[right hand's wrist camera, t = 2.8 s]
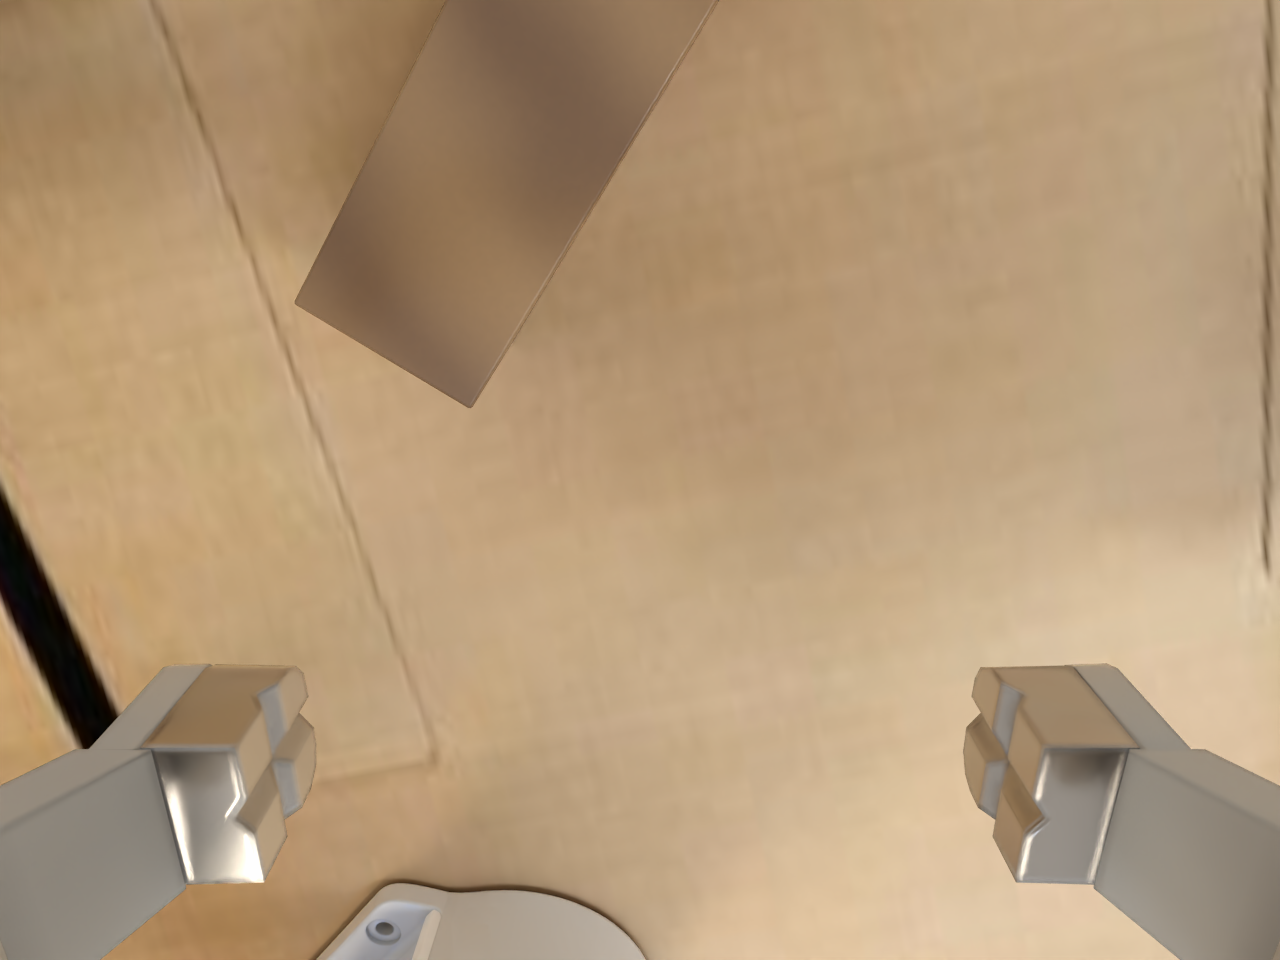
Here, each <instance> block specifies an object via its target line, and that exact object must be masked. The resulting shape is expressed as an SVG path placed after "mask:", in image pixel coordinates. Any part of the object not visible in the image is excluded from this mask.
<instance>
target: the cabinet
mask: <svg viewBox="0 0 1280 960" xmlns="http://www.w3.org/2000/svg"><path fill="white" fill-rule="evenodd" d="M718 1H719V0H446V1H445V3H444V5H443V7H442V9H441V11H440V13H439V15H438V17H437V19H436V21H435V23H434V25H433V27H432V29H431V31H430V33H429V35H428V37H427V39H426V41H425V43H424V45H423V47H422V49H421V51H420V53H419V55H418V57H417V59H416V61H415V63H414V65H413V67H412V69H411V71H410V73H409V75H408V77H407V79H406V81H405V83H404V85H403V87H402V89H401V91H400V93H399V95H398V97H397V99H396V101H395V103H394V105H393V107H392V109H391V111H390V113H389V115H388V117H387V119H386V121H385V123H384V125H383V127H382V129H381V131H380V133H379V135H378V137H377V139H376V141H375V143H374V145H373V147H372V149H371V151H370V153H369V155H368V157H367V159H366V160H365V162H364V164H363V166H362V168H361V170H360V172H359V174H358V176H357V178H356V180H355V182H354V184H353V186H352V188H351V190H350V192H349V194H348V196H347V198H346V200H345V202H344V204H343V206H342V208H341V210H340V212H339V214H338V216H337V218H336V220H335V222H334V224H333V226H332V228H331V230H330V232H329V234H328V236H327V238H326V240H325V242H324V244H323V246H322V248H321V250H320V252H319V254H318V256H317V258H316V260H315V262H314V264H313V266H312V268H311V270H310V272H309V274H308V276H307V278H306V280H305V282H304V284H303V286H302V288H301V290H300V292H299V294H298V296H297V298H296V300H295V304H296V305H297V306H299V307H300V308H302V309H304V310H305V311H307V312H309V313H310V314H312V315H314V316H316V317H317V318H319V319H321V320H322V321H324V322H326V323H327V324H329V325H331V326H332V327H334V328H336V329H337V330H339V331H341V332H342V333H344V334H346V335H347V336H349V337H351V338H352V339H354V340H356V341H357V342H359V343H361V344H362V345H364V346H366V347H367V348H369V349H371V350H372V351H374V352H376V353H377V354H379V355H381V356H382V357H384V358H386V359H388V360H389V361H391V362H393V363H394V364H396V365H398V366H399V367H401V368H403V369H404V370H406V371H408V372H409V373H411V374H413V375H414V376H416V377H418V378H419V379H421V380H423V381H424V382H426V383H428V384H429V385H431V386H433V387H434V388H436V389H438V390H439V391H441V392H443V393H444V394H446V395H448V396H449V397H451V398H453V399H454V400H456V401H458V402H460V403H461V404H463V405H465V406H466V407H468V408H471V407H473V405H474V404H475V402H476V400H477V399H478V397H479V395H480V394H481V392H482V391H483V389H484V387H485V386H486V384H487V383H488V381H489V379H490V378H491V376H492V374H493V373H494V371H495V370H496V368H497V366H498V365H499V363H500V362H501V360H502V358H503V357H504V355H505V353H506V352H507V350H508V349H509V347H510V345H511V344H512V342H513V340H514V339H515V337H516V335H517V334H518V332H519V331H520V329H521V327H522V326H523V324H524V322H525V321H526V319H527V317H528V316H529V314H530V312H531V311H532V309H533V307H534V306H535V304H536V302H537V301H538V299H539V297H540V296H541V294H542V292H543V291H544V289H545V288H546V286H547V284H548V283H549V281H550V279H551V278H552V276H553V274H554V273H555V271H556V269H557V268H558V266H559V264H560V263H561V261H562V259H563V258H564V256H565V254H566V253H567V251H568V249H569V248H570V246H571V245H572V243H573V241H574V240H575V238H576V236H577V235H578V233H579V231H580V230H581V228H582V226H583V225H584V223H585V221H586V220H587V218H588V216H589V215H590V213H591V211H592V210H593V208H594V206H595V205H596V203H597V202H598V200H599V198H600V197H601V195H602V193H603V192H604V190H605V188H606V187H607V185H608V183H609V182H610V180H611V178H612V177H613V175H614V173H615V172H616V170H617V168H618V167H619V165H620V163H621V162H622V160H623V159H624V157H625V155H626V154H627V152H628V150H629V149H630V147H631V145H632V144H633V142H634V140H635V139H636V137H637V135H638V134H639V132H640V130H641V129H642V127H643V125H644V124H645V122H646V120H647V119H648V117H649V116H650V114H651V112H652V111H653V109H654V107H655V106H656V104H657V102H658V101H659V99H660V97H661V96H662V94H663V92H664V91H665V89H666V87H667V86H668V84H669V82H670V81H671V79H672V77H673V76H674V74H675V72H676V71H677V69H678V68H679V66H680V64H681V63H682V61H683V59H684V58H685V56H686V54H687V53H688V51H689V49H690V48H691V46H692V44H693V43H694V41H695V39H696V38H697V36H698V34H699V33H700V31H701V29H702V28H703V26H704V25H705V23H706V21H707V20H708V18H709V16H710V15H711V13H712V11H713V10H714V8H715V6H716V5H717V3H718Z"/></svg>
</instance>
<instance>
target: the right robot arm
mask: <svg viewBox="0 0 1280 960" xmlns="http://www.w3.org/2000/svg"><path fill="white" fill-rule="evenodd" d="M307 698H308V692H307V688H306V683H305V678H304V673H303V672H302V671H301V670H300V669H299V668H298V667H297V666H272V665H224V664H216V665H211V664H174V665H170V666H167V667H163V668H162V669H161V671H160V672H159V673H158V674H157V675H156V676H155V677H154V678H153V679H152V680H151V681H150V683H149V684H148V685H147V686H146V687H145V688H144V689H143V690H142V691H141V692H140V694H139V695H138V696H137V697H136V698H135V699H134V700H133V701H132V702H131V703H130V705H129V706H128V707H127V708H126V709H125V710H124V711H123V712H122V713H121V714H120V716H119V717H118V718H117V719H116V720H115V721H114V722H113V723H112V724H111V725H110V727H109V728H108V729H107V730H106V731H105V732H104V733H103V734H102V735H101V736H100V738H99V739H98V740H97V741H96V742H95V743H94V744H93V745H92V746H91V747H90V749H75V750H73V751H71V752H69V753H67V754H65V755H62V756H60V757H58V758H56V759H54V760H52V761H50V762H48V763H46V764H44V765H42V766H40V767H38V768H36V769H34V770H32V771H30V772H28V773H26V774H24V775H21V776H19V777H17V778H15V779H13V780H11V781H9V782H7V783H5V784H3V785H1V786H0V960H100V959H102V958H103V957H104V956H105V955H107V954H108V953H109V952H110V951H111V950H113V949H114V948H115V947H116V946H117V945H119V944H120V943H121V942H122V941H123V940H125V939H126V938H127V937H128V936H129V935H131V934H132V933H133V932H134V931H136V930H137V929H138V928H139V927H140V926H142V925H143V924H144V923H145V922H146V921H148V920H149V919H150V918H151V917H152V916H154V915H155V914H156V913H157V912H159V911H160V910H161V909H162V908H163V907H165V906H166V905H167V904H168V903H169V902H171V901H172V900H173V899H174V898H175V897H177V896H178V895H179V894H180V893H182V892H183V891H184V890H185V889H186V884H221V883H255V882H264V881H265V879H266V877H267V875H268V873H269V871H270V869H271V867H272V866H273V864H274V862H275V860H276V858H277V856H278V854H279V852H280V850H281V848H282V846H283V844H284V842H285V840H286V838H287V832H286V826H285V821H284V820H285V819H286V818H288V817H289V816H290V815H292V814H293V813H295V812H296V811H298V810H299V809H300V808H302V806H303V804H304V802H305V800H306V798H307V796H308V794H309V792H310V790H311V786H312V781H313V777H314V772H315V768H316V739H315V733H314V727H313V726H312V725H311V724H310V723H309V722H308V721H307V720H306V719H305V718H304V717H303V716H302V715H301V714H300V713H299V712H300V710H301V708H302V707H303V705H304V703H305V701H306V700H307ZM972 698H973V700H974V701H975V703H976V705H977V707H978V708H979V710H980V712H981V713H980V714H979V715H978V716H977V717H976V718H975V719H974V720H973V721H972V722H971V723H970V724H969V725H968V726H967V727H966V734H965V742H964V749H963V754H964V765H965V775H966V778H967V782H968V785H969V789H970V792H971V794H972V796H973V798H974V800H975V802H976V804H977V806H978V808H980V809H981V810H982V811H984V812H985V813H987V814H988V815H990V816H991V817H992V818H994V819H995V820H996V821H995V826H994V832H993V838H994V840H995V842H996V844H997V846H998V848H999V850H1000V852H1001V854H1002V856H1003V858H1004V860H1005V862H1006V863H1007V865H1008V867H1009V869H1010V871H1011V873H1012V875H1013V877H1014V879H1015V881H1016V882H1022V883H1058V884H1094V889H1095V890H1096V891H1098V892H1099V893H1100V894H1101V895H1103V896H1104V897H1105V898H1106V899H1107V900H1109V901H1110V902H1111V903H1112V904H1113V905H1115V906H1116V907H1117V908H1118V909H1119V910H1121V911H1122V912H1123V913H1124V914H1125V915H1127V916H1128V917H1129V918H1130V919H1131V920H1133V921H1134V922H1135V923H1136V924H1138V925H1139V926H1140V927H1141V928H1142V929H1144V930H1145V931H1146V932H1147V933H1148V934H1150V935H1151V936H1152V937H1153V938H1154V939H1156V940H1157V941H1158V942H1159V943H1160V944H1162V945H1163V946H1164V947H1165V948H1166V949H1168V950H1169V951H1170V952H1171V953H1173V954H1174V955H1175V956H1176V957H1177V958H1179V959H1180V960H1280V786H1279V785H1277V784H1275V783H1273V782H1271V781H1269V780H1267V779H1265V778H1262V777H1260V776H1258V775H1256V774H1254V773H1252V772H1250V771H1248V770H1246V769H1244V768H1242V767H1240V766H1238V765H1236V764H1234V763H1232V762H1230V761H1228V760H1226V759H1224V758H1222V757H1220V756H1217V755H1215V754H1213V753H1211V752H1209V751H1207V750H1205V749H1190V747H1189V746H1188V745H1187V744H1186V743H1185V742H1184V741H1183V740H1182V739H1181V738H1180V736H1179V735H1178V734H1177V733H1176V732H1175V731H1174V730H1173V729H1172V728H1171V727H1170V725H1169V724H1168V723H1167V722H1166V721H1165V720H1164V719H1163V718H1162V717H1161V716H1160V714H1159V713H1158V712H1157V711H1156V710H1155V709H1154V708H1153V707H1152V706H1151V705H1150V703H1149V702H1148V701H1147V700H1146V699H1145V698H1144V697H1143V696H1142V695H1141V694H1140V692H1139V691H1138V690H1137V689H1136V688H1135V687H1134V686H1133V685H1132V684H1131V683H1130V681H1129V680H1128V679H1127V678H1126V677H1125V676H1124V675H1123V674H1122V673H1121V672H1120V670H1119V669H1118V668H1116V667H1113V666H1111V665H1109V664H1079V665H1065V666H1020V667H980V669H979V671H978V673H977V675H976V677H975V681H974V686H973V692H972ZM316 960H646V959H645V957H644V955H643V954H642V952H641V951H640V949H639V948H638V947H637V945H636V944H635V943H634V942H633V941H632V939H631V938H630V937H629V936H628V935H627V934H626V933H625V932H624V931H622V930H621V929H620V928H619V927H618V926H616V925H615V924H614V923H612V922H611V921H610V920H608V919H607V918H605V917H603V916H602V915H600V914H598V913H597V912H595V911H593V910H591V909H589V908H587V907H584V906H582V905H580V904H577V903H575V902H572V901H569V900H566V899H563V898H560V897H556V896H552V895H548V894H543V893H537V892H529V891H519V890H491V891H479V892H463V893H456V892H447V891H443V890H439V889H434V888H430V887H425V886H420V885H415V884H407V883H394V884H390V885H387V886H385V887H383V888H382V889H381V890H380V891H379V892H378V893H377V894H376V895H375V896H374V897H373V898H372V899H371V900H370V901H369V902H368V903H367V905H366V906H365V907H364V908H363V909H362V910H361V911H360V912H359V913H358V914H357V915H356V917H355V918H354V919H353V920H352V921H351V922H350V923H349V924H348V925H347V926H346V927H345V928H344V930H343V931H342V932H341V933H340V934H339V935H338V936H337V937H336V938H335V939H334V940H333V942H332V943H331V944H330V945H329V946H328V947H327V948H326V949H325V950H324V951H323V952H322V953H321V955H320V956H319V957H318V958H317V959H316Z"/></svg>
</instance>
